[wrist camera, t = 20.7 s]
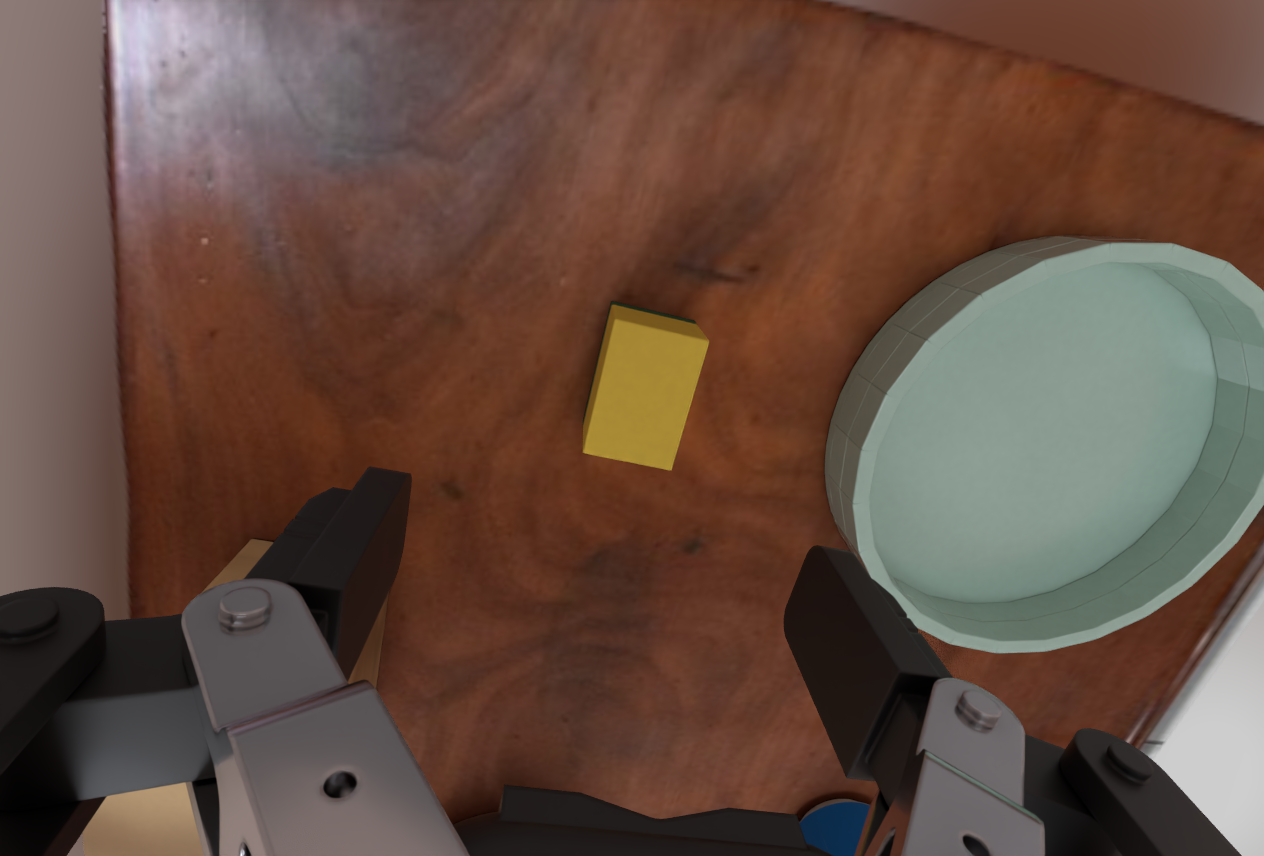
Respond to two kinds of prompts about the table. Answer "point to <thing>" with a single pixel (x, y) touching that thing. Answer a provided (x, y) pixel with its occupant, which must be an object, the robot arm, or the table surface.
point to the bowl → (1053, 439)
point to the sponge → (642, 386)
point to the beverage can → (835, 826)
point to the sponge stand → (162, 817)
